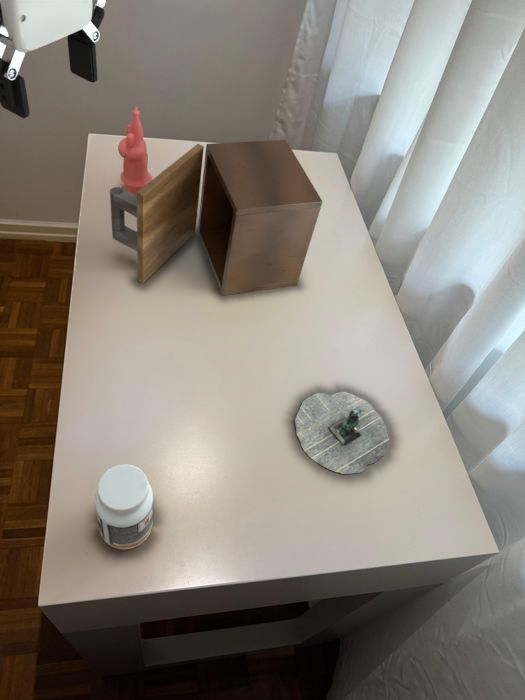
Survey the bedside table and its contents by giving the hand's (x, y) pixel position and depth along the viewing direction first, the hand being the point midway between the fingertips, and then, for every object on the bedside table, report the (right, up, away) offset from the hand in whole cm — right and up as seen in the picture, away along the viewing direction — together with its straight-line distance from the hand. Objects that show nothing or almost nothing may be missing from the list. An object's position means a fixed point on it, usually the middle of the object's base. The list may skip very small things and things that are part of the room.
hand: (51, 93), depth 59 cm
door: (+5, -11, +29) cm, 31 cm away
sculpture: (+32, -37, +15) cm, 51 cm away
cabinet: (+19, -12, +31) cm, 38 cm away
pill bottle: (+7, -45, +3) cm, 46 cm away
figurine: (+1, -1, +36) cm, 36 cm away
